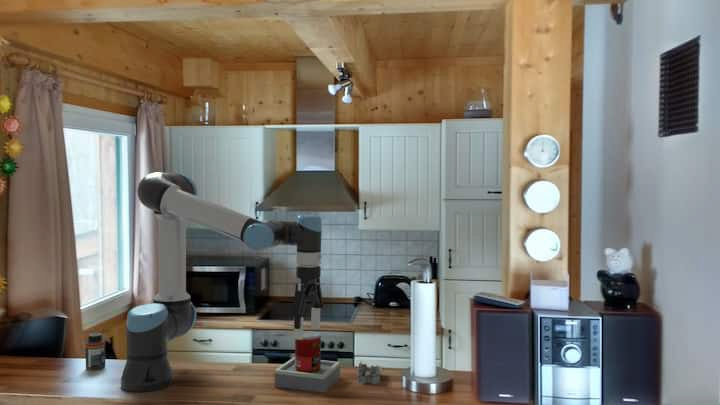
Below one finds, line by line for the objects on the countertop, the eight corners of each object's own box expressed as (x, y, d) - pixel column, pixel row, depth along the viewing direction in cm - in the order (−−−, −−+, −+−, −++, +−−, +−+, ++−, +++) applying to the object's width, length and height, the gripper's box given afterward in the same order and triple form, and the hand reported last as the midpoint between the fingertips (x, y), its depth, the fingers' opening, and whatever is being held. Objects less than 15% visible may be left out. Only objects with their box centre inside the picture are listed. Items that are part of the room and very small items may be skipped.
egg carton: (359, 373, 186) (359, 361, 186) (382, 374, 185) (382, 361, 185) (355, 384, 175) (355, 371, 175) (379, 385, 174) (379, 372, 174)
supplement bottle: (87, 366, 191) (87, 332, 190) (107, 364, 192) (106, 331, 192) (83, 371, 185) (83, 337, 185) (103, 370, 186) (103, 336, 186)
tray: (274, 386, 172) (274, 370, 172) (293, 372, 185) (293, 357, 185) (323, 392, 167) (324, 375, 167) (339, 377, 181) (339, 362, 180)
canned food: (316, 374, 172) (317, 338, 171) (291, 372, 173) (291, 336, 173) (323, 366, 179) (323, 331, 179) (299, 364, 181) (299, 330, 180)
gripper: (303, 271, 162) (302, 345, 163) (334, 261, 186) (332, 325, 187) (279, 269, 165) (278, 342, 165) (312, 259, 188) (311, 323, 189)
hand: (307, 333), depth 176 cm, fingers open, 13 cm apart
